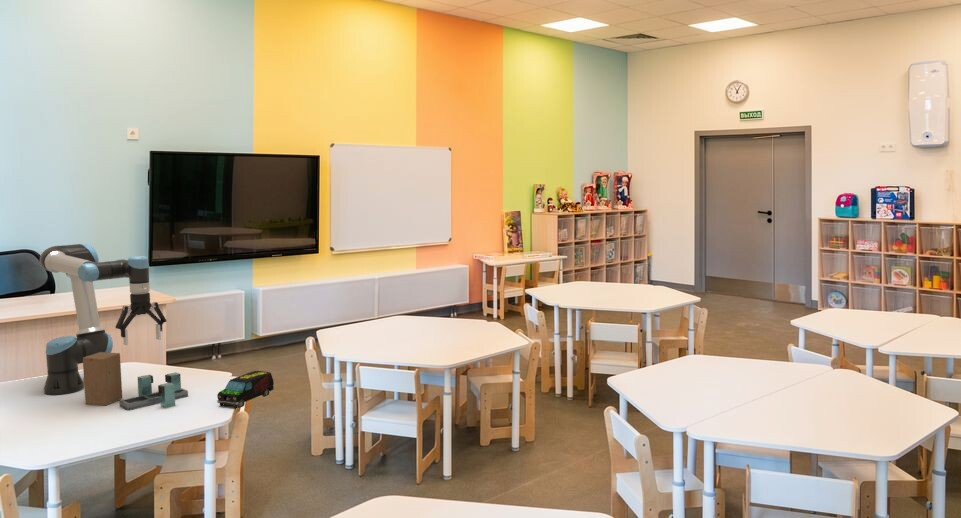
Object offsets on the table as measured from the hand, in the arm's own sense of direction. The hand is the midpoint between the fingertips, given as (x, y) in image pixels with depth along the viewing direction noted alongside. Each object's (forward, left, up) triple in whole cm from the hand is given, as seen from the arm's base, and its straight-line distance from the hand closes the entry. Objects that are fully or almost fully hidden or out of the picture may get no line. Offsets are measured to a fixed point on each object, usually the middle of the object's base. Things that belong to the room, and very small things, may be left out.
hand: (142, 342), depth 293 cm
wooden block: (-7, -14, -24) cm, 29 cm away
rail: (+9, 0, -24) cm, 26 cm away
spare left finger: (+19, +1, -24) cm, 31 cm away
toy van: (+36, +27, -25) cm, 51 cm away
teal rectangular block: (0, 0, -24) cm, 24 cm away
